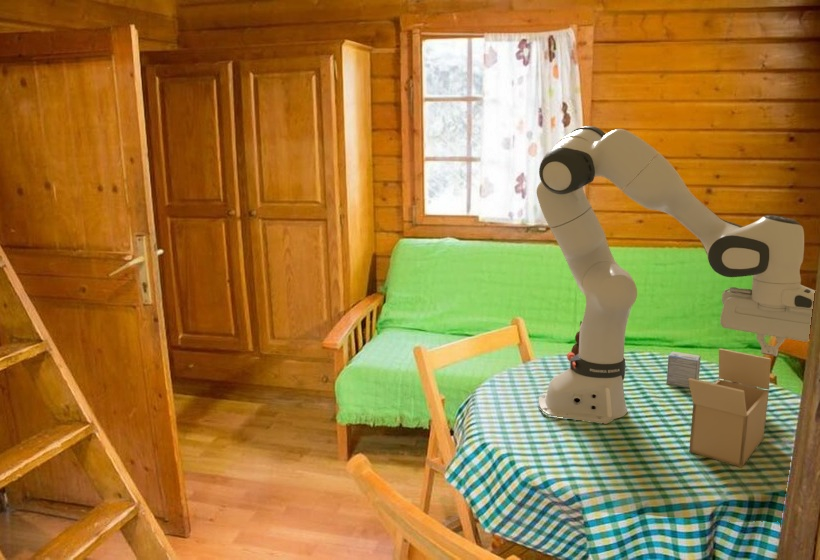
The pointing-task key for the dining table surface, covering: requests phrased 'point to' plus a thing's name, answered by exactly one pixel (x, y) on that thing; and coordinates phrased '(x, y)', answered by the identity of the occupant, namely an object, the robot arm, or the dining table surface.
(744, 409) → the front flap
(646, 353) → the dining table surface
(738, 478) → the dining table surface
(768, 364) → the back flap
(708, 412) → the carton
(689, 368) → the medicine box
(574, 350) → the wooden figurine
